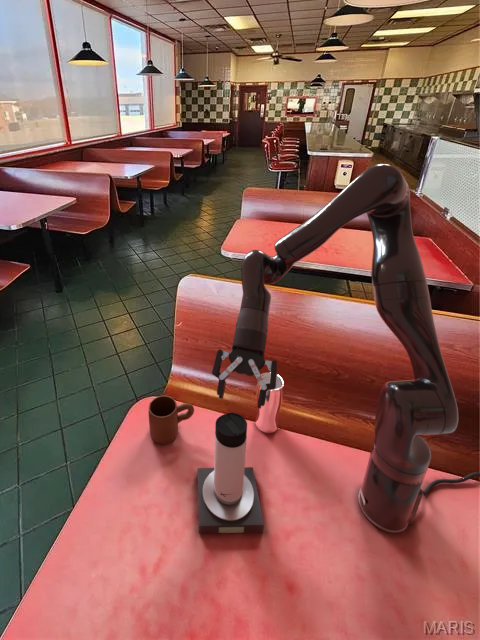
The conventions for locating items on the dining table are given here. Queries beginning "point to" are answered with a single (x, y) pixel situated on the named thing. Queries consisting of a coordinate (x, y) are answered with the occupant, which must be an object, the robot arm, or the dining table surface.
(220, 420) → the travel mug
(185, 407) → the mug
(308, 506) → the dining table surface
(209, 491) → the scale pan
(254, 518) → the scale
